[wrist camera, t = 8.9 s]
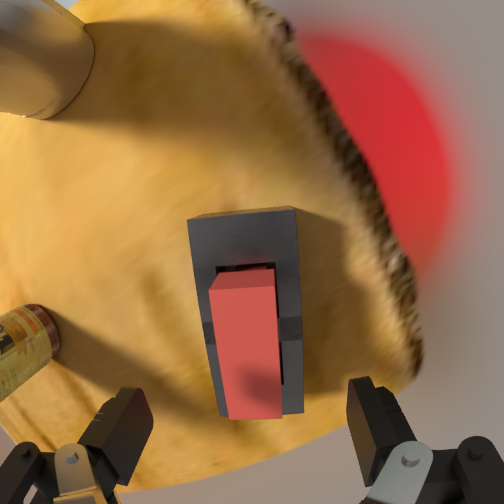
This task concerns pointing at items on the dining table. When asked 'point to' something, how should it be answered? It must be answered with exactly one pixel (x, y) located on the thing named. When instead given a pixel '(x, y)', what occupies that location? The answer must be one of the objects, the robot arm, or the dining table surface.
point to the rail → (248, 252)
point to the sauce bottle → (25, 345)
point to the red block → (248, 341)
